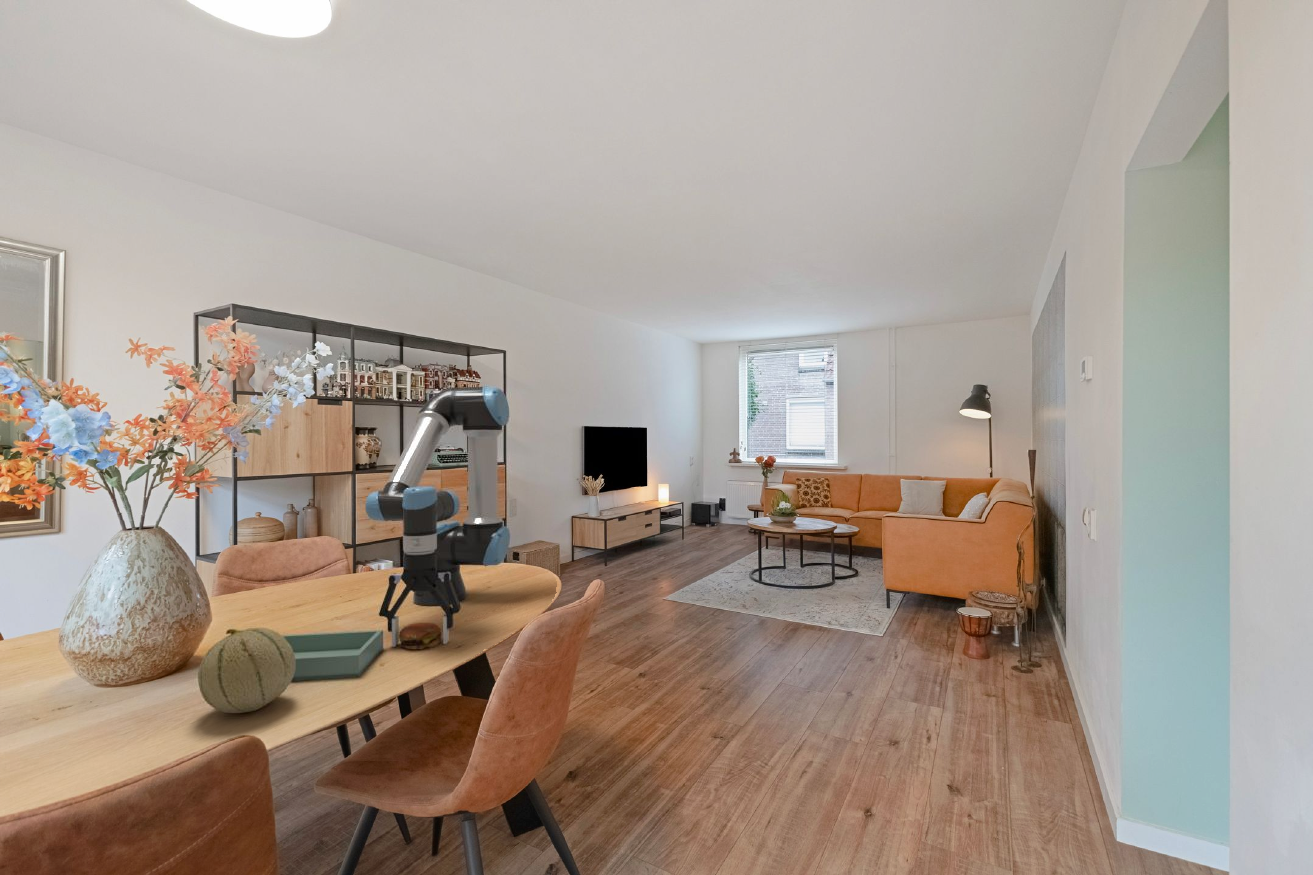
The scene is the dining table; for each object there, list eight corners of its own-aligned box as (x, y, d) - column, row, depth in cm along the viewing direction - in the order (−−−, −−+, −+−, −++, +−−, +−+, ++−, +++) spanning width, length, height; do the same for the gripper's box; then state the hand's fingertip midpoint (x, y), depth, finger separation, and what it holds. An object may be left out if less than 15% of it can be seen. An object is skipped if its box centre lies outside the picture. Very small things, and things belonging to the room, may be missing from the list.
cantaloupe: (297, 714, 106) (296, 630, 106) (193, 737, 98) (192, 647, 98) (294, 685, 118) (294, 610, 118) (202, 703, 110) (202, 623, 110)
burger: (417, 635, 147) (417, 617, 147) (449, 639, 145) (449, 620, 145) (389, 650, 138) (389, 630, 138) (423, 654, 135) (423, 633, 135)
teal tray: (272, 655, 135) (272, 635, 135) (383, 648, 138) (383, 629, 138) (232, 684, 119) (232, 662, 119) (358, 676, 122) (358, 655, 122)
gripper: (363, 556, 136) (363, 651, 136) (468, 552, 139) (468, 645, 139) (373, 550, 143) (374, 640, 143) (473, 547, 146) (473, 635, 146)
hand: (420, 643), depth 141 cm, fingers open, 11 cm apart
